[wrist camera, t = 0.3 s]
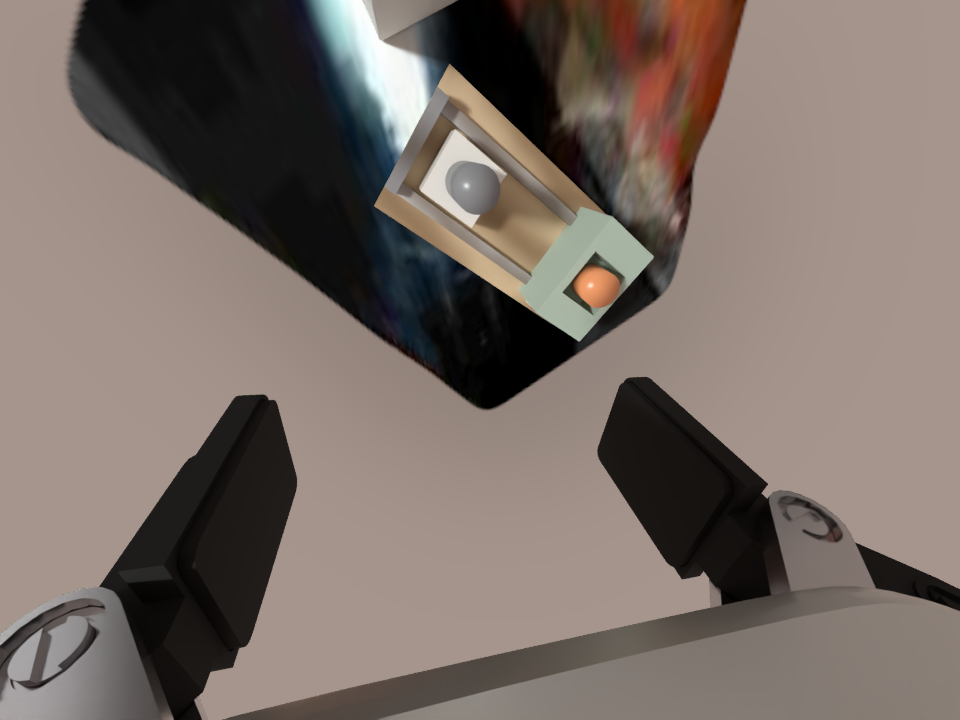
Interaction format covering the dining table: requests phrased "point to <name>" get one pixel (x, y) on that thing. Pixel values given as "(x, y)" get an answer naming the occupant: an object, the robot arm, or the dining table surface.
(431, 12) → the milk carton
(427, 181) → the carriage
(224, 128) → the dining table surface
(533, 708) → the robot arm
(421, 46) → the dining table surface
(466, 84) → the track
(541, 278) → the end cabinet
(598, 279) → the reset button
